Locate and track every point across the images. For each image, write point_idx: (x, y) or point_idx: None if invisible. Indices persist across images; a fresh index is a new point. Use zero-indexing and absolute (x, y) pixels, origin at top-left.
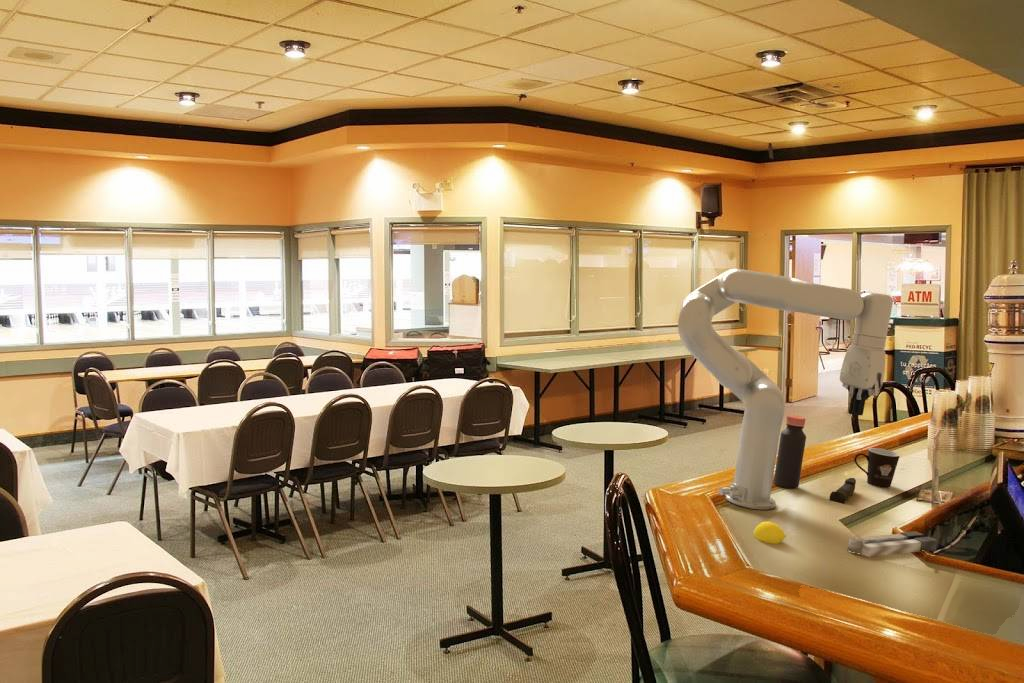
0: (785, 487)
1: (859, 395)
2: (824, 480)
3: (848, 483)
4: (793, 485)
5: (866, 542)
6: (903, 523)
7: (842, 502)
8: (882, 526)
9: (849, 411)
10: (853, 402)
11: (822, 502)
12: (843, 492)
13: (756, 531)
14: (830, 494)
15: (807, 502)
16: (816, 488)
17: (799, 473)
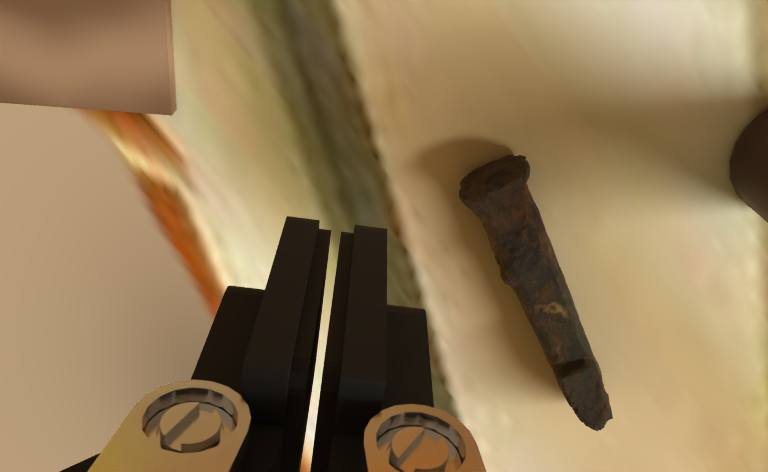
0: (764, 112)
1: (141, 456)
2: (736, 405)
3: (575, 363)
4: (742, 148)
5: None
6: (223, 263)
7: (465, 180)
8: (206, 127)
9: (367, 233)
10: (311, 332)
11: (538, 125)
12: (496, 228)
13: None
14: (527, 166)
15: (567, 37)
16: (685, 276)
17: (766, 203)
